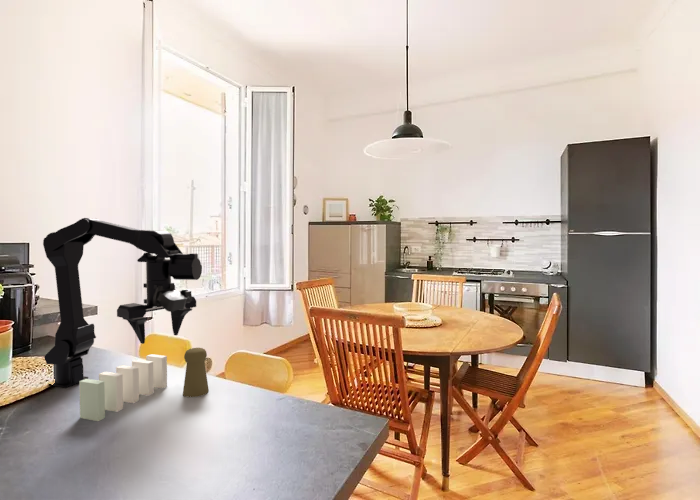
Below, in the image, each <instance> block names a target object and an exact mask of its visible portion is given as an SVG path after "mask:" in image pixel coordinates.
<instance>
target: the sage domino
mask: <svg viewBox="0 0 700 500" xmlns="http://www.w3.org/2000/svg"><path fill="white" fill-rule="evenodd" d="M78 385H79V389H78V390H79V418H80V419H84V420H88V421H89V420H90V421H94V422H99V421H102V420H104V419H105V418H106V410H105V386H104V381H99V379H90V378H88V379H84V380H81V381H79V383H78Z"/></svg>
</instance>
